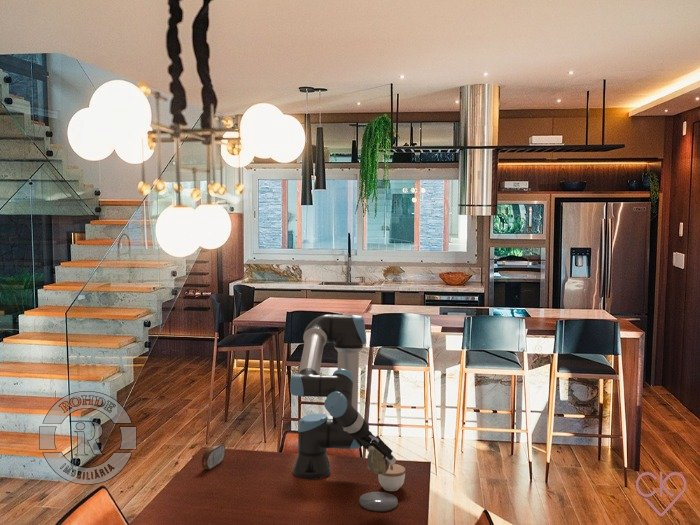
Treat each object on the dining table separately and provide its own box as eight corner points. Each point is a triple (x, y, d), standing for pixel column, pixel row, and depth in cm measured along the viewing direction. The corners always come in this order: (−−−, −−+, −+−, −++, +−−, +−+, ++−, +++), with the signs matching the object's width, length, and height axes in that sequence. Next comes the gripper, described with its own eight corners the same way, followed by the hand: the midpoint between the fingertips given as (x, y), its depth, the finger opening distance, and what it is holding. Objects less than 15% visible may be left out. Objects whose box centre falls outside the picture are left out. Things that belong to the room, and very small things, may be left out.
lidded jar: (403, 495, 247) (403, 470, 246) (375, 492, 249) (375, 468, 248) (406, 484, 257) (407, 460, 257) (379, 481, 260) (380, 458, 259)
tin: (220, 459, 280) (220, 440, 279) (226, 460, 279) (226, 441, 278) (200, 471, 266) (200, 451, 265) (207, 472, 265) (207, 452, 264)
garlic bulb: (372, 481, 235) (365, 458, 232) (367, 469, 243) (360, 446, 240) (396, 473, 236) (390, 449, 233) (390, 461, 244) (384, 438, 241)
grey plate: (351, 501, 240) (351, 498, 240) (378, 491, 249) (378, 488, 249) (378, 514, 230) (378, 511, 230) (405, 503, 239) (405, 500, 239)
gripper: (329, 426, 235) (361, 460, 247) (369, 441, 220) (401, 476, 232) (341, 409, 238) (371, 443, 250) (381, 423, 223) (411, 458, 235)
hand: (385, 459), depth 241 cm, fingers closed on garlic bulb, 7 cm apart
